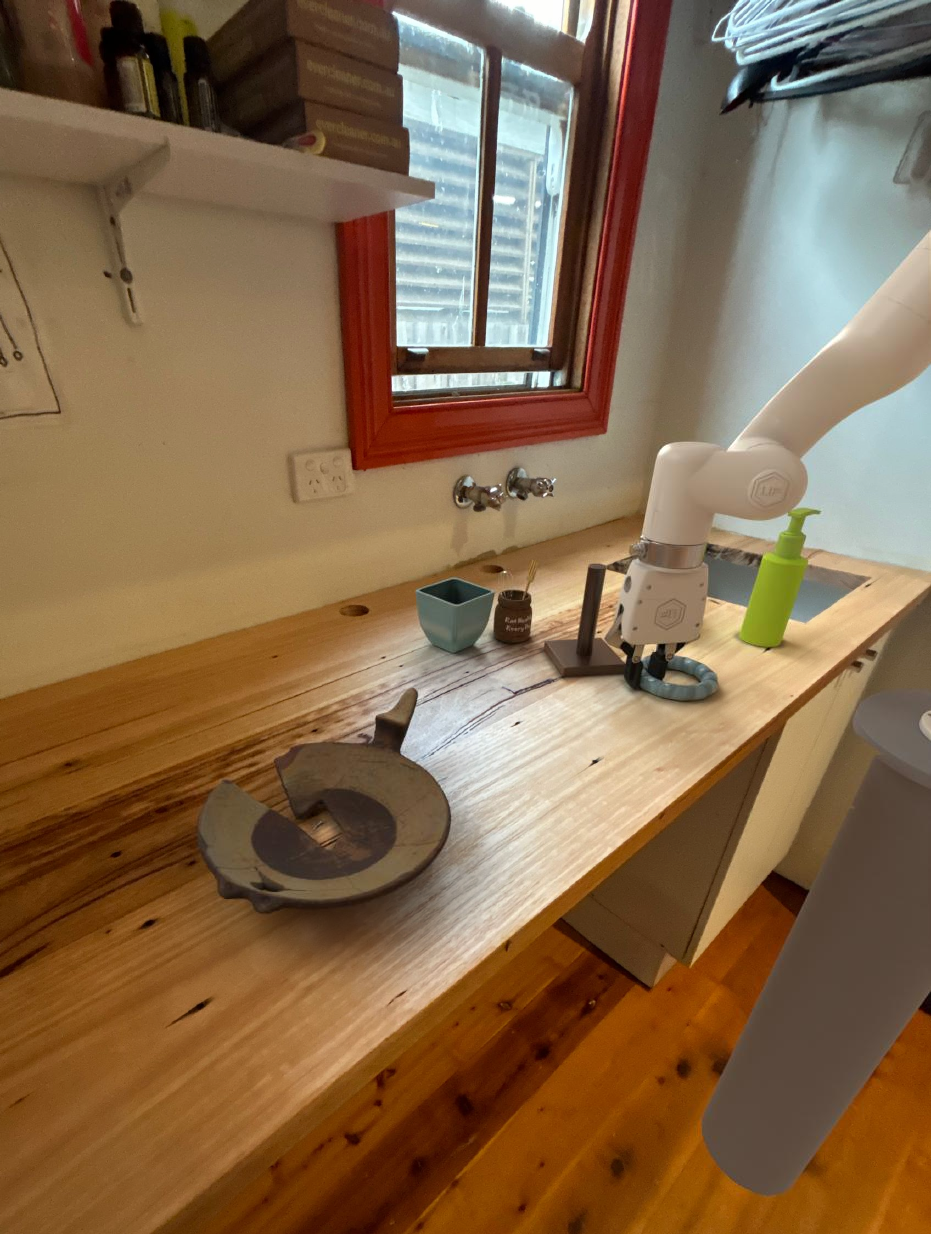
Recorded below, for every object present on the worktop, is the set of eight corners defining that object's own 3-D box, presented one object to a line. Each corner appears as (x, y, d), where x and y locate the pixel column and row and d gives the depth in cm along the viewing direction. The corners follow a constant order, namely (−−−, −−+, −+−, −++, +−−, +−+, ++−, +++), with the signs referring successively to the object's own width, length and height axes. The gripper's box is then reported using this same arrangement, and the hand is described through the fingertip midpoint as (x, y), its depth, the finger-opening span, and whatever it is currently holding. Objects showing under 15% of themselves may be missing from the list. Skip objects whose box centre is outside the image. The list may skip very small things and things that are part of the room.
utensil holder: (485, 632, 99) (490, 560, 93) (518, 625, 101) (525, 555, 95) (504, 646, 95) (511, 572, 89) (538, 639, 97) (547, 566, 91)
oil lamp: (155, 849, 57) (136, 785, 53) (389, 727, 75) (387, 672, 71) (292, 1010, 44) (280, 940, 40) (539, 814, 61) (547, 752, 57)
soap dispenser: (792, 639, 96) (837, 510, 86) (766, 650, 93) (810, 517, 83) (756, 627, 100) (795, 502, 90) (731, 636, 97) (768, 509, 87)
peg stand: (599, 646, 95) (615, 554, 87) (624, 673, 87) (643, 575, 79) (543, 649, 94) (554, 557, 86) (563, 677, 86) (577, 578, 79)
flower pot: (492, 645, 95) (497, 590, 91) (454, 662, 90) (456, 605, 86) (451, 628, 101) (453, 576, 96) (413, 644, 96) (413, 590, 91)
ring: (689, 662, 90) (692, 650, 89) (732, 700, 80) (736, 686, 79) (618, 666, 89) (620, 654, 88) (652, 705, 79) (655, 692, 78)
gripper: (620, 564, 71) (596, 701, 80) (751, 558, 72) (712, 693, 81) (595, 546, 77) (576, 674, 86) (716, 540, 78) (683, 667, 88)
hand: (642, 682), depth 84 cm, fingers closed on ring, 2 cm apart
